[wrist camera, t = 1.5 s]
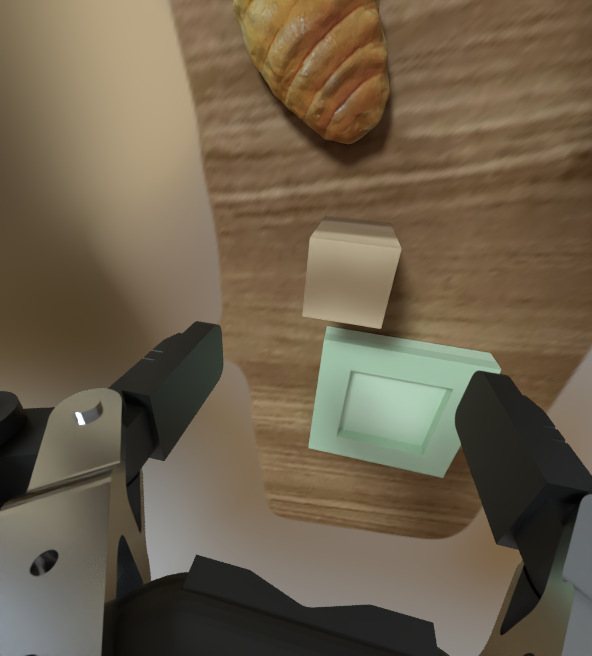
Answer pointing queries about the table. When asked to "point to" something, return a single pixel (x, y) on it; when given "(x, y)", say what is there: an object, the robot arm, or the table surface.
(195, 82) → the table surface
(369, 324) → the wooden block
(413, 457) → the plate
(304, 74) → the pastry
